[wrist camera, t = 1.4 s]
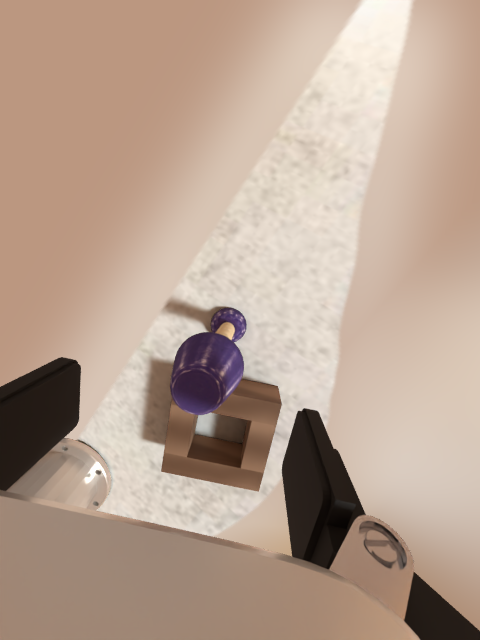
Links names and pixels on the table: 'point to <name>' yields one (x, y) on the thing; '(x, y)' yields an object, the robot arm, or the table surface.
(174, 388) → the toy lamp
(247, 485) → the socket block
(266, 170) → the table surface
